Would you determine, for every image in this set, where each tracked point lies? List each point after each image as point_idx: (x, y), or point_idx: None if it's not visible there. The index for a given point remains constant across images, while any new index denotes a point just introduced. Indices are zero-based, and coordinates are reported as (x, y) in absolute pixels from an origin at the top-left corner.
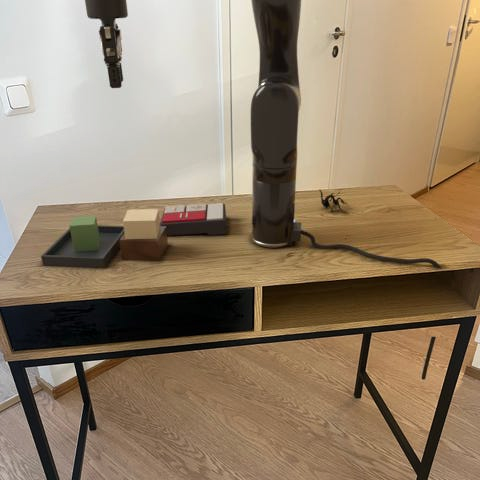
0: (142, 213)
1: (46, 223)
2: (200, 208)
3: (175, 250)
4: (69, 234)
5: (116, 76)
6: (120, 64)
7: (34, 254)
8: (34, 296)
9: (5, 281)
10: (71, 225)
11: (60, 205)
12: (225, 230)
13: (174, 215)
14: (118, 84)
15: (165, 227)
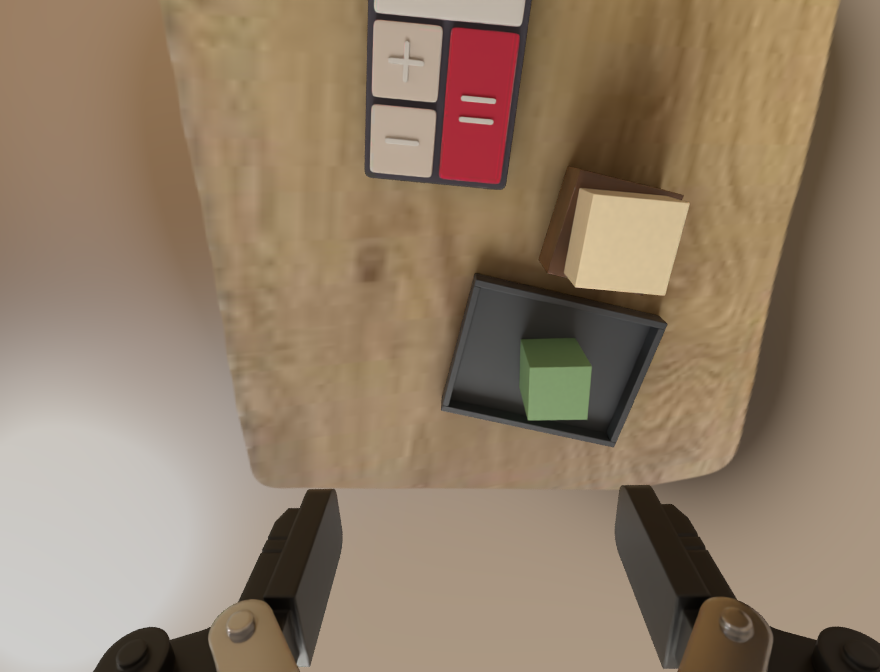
0: (619, 243)
1: (374, 464)
2: (422, 45)
3: (605, 144)
4: (484, 410)
5: (706, 557)
6: (299, 584)
7: (547, 459)
8: (742, 427)
9: (660, 483)
10: (586, 415)
11: (252, 454)
12: None
13: (465, 143)
14: (672, 509)
15: (589, 172)
